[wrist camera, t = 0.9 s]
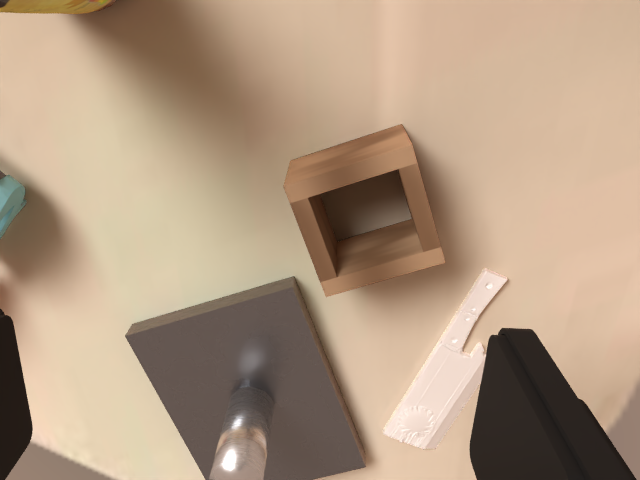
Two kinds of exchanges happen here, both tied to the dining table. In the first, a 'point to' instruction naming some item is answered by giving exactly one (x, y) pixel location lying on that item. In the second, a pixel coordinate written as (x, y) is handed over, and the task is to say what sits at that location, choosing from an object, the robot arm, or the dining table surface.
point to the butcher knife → (445, 374)
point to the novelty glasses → (10, 200)
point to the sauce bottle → (54, 6)
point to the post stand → (250, 387)
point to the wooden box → (372, 247)
